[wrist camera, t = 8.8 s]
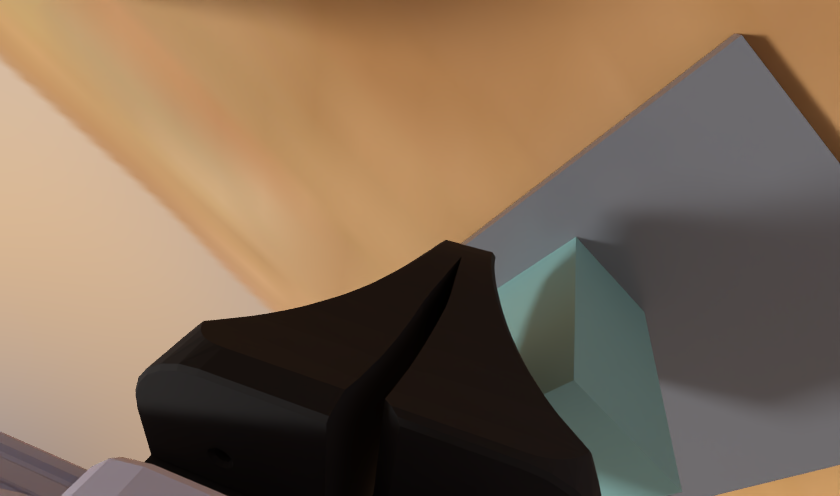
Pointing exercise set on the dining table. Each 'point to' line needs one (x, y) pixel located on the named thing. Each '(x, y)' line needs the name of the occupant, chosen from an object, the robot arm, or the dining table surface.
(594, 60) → the dining table surface
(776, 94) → the slate board
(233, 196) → the dining table surface
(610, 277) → the teal block
